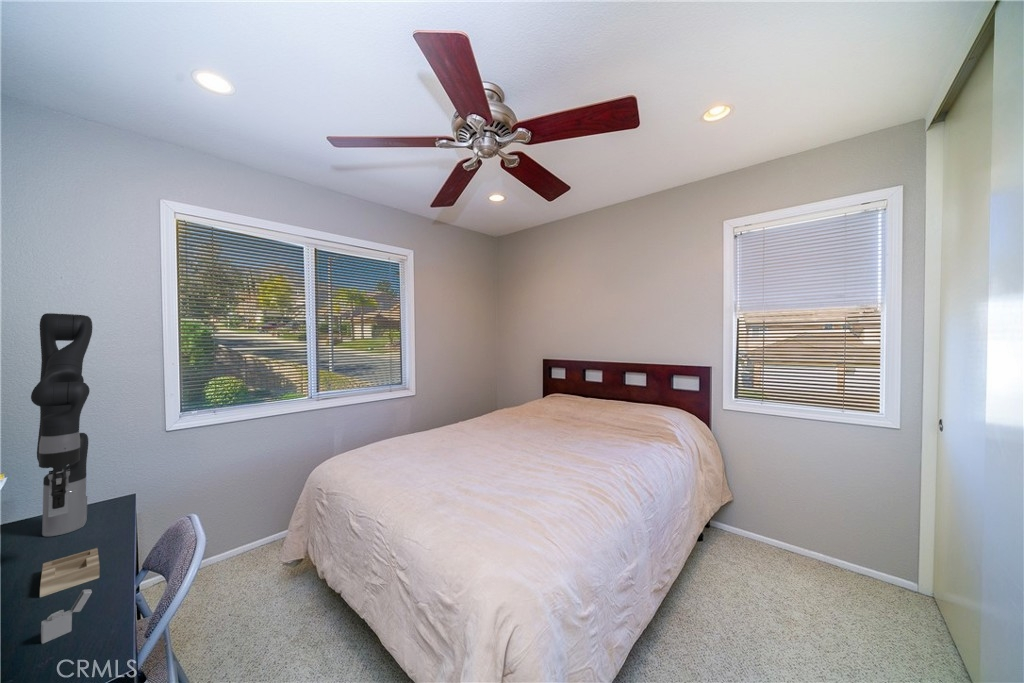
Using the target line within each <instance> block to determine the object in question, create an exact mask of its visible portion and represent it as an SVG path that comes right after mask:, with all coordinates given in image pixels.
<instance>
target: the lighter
mask: <svg viewBox="0 0 1024 683" xmlns="http://www.w3.org/2000/svg"><path fill="white" fill-rule="evenodd" d="M92 593H93V591H92V589H89V588H88V589H86V588H85V589H82V591H81V592H80V594H79V595H78V597H77V598H76V599H75V602H74V603H73V605H72V607H71V609H69V610H67V611H65V610H64V609H61V610H57V611H56V612H53V613H51V614H50V615H49V616H47V618H46V619H44V620H42V621H40V622H41V623H40V624H41V625H40V626H41V627H40V629H41V630H40V642H41V644H42V645H43V644H45V643H47V642H50V641H52V640H55V639H57V638H59V637H61V636H64V635H66V634H68V633H71V632H72V631H73V630H72V629H73V628H72V627H73V622H72V621H73V613H80V612H81V611H82V609H84V607H85V604H86V603H87V601H88V600H89V599H90V596H91V594H92Z"/></svg>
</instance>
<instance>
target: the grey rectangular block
mask: <svg viewBox="0 0 1024 683" xmlns="http://www.w3.org/2000/svg"><path fill="white" fill-rule="evenodd" d="M68 486H69V480H68V485H67V486H66V489H65V491H66V493H65V505H64V507H62V508H57V509H53V508H52V500H53V497H52V496H51V494H52V489H50V488H49V511H48V517H52V516H57V515H61V514H65V513H68ZM61 490H63V489H57V490H55V492H56V491H61Z"/></svg>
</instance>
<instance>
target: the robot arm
mask: <svg viewBox="0 0 1024 683" xmlns="http://www.w3.org/2000/svg"><path fill="white" fill-rule="evenodd" d="M39 319H40V320H39V339H40V340H39V341H40V353H41V354H40V355H41V356H40V357H41V363H40V364H41V366H40V380H39V382H38V383H37V384H36V385H35V386H34V387H33V390H32V391H31V395H30V399H31V402H32V403H33V404H34V405H36V406H37V407H39V410H40V412H39V413H40V415H39V429H38V437H37V445H36V446H37V447H36V459H37V462H38V467H39V468H40V469H49V468H52V470H49V471H48V473H47V474H46V475H44V477H43V485H42V486H43V488H42V523H41V524H42V525H41V526H42V527H41V535H42V536H43V537H56V536H61V535H65V534H69V533H72V532H75V531H77V530H79V529H81V528H83V527H84V526H85V525H86V522H87V520H88V518H87V517H88V496H87V460H88V451H89V436H88V435H87V433H85V432H80V418H81V413H82V411H83V408H84V406H85V404H86V402H87V399H88V397H89V395H90V390H91V389H90V387H89V385H88V384H87V383H85V381H84V376H83V374H82V373H83V366H84V365H83V364H84V359H85V355H86V353H87V350H88V347H89V345H90V342H91V339H92V334H93V321H92V318H91V317H90V316H89V315H85V314H84V315H83V314H73V313H70V314H69V313H54V312H53V313H52V312H50V313H44V314H42V316H41V318H39ZM58 341H59V342H60V341H61V342H62V341H63V342H64V341H65V342H69V344H67V345H65V346H63V347H62V348H60V349H59V347H58V344H57V343H56V342H58ZM68 480H69V486H68V513H65V514H61V515H57V516H52V517H48V511H49V488H50V489H52V494H51V496H52V497H53V500H52V508H53V509H57V508H62V507H64V505H65V493H66V491H65V489H66V486H67V485H68ZM57 489H63V490H61V491H56V492H55V490H57Z"/></svg>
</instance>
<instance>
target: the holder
mask: <svg viewBox="0 0 1024 683" xmlns="http://www.w3.org/2000/svg"><path fill="white" fill-rule="evenodd" d="M99 578H100V559H99V549H98V547H95V548H92V549H87V550H84V551H82V552H78V553H74V554H71V555H68V556H64V557H60V558H57V559H54V560H50V561H47V562H44V563H42V569H41V577H40V584H39V585H40V586H39V598H43V597H46V596H49V595H52V594H54V593H57V592H60V591H63V590H67V589H71V588H73V587H75V586H79V585H82V584H85V583H88V582H91V581H93V580H97V579H99Z"/></svg>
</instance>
